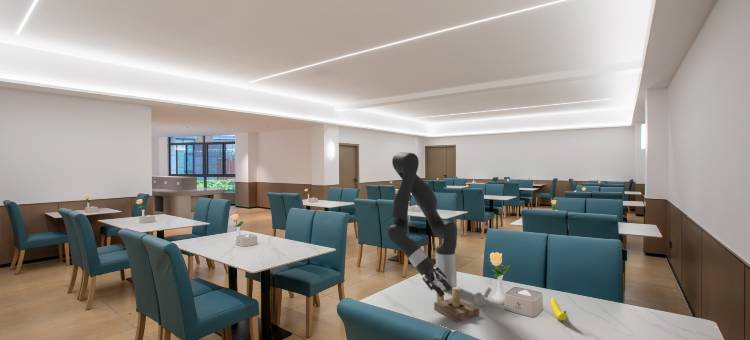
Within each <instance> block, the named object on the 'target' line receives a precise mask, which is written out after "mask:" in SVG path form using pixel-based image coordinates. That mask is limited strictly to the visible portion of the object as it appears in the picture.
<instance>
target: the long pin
mask: <svg viewBox="0 0 750 340" xmlns="http://www.w3.org/2000/svg"><path fill="white" fill-rule="evenodd" d="M451 291H452V293H451V294H452V295H451V296H452V297H451V298H452V307H453V308H455V309H457V308H460V299H461V288H460V287H454V288H452V290H451Z"/></svg>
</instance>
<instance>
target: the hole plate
mask: <svg viewBox="0 0 750 340" xmlns="http://www.w3.org/2000/svg"><path fill="white" fill-rule="evenodd" d="M433 310H434V311H436V312H437V313H440V314H441V315H442V316H445V317H447V318H448V319H450V320H452V321H454V322H456V323H459V322H462V321H465V320H468V319H469V320H470V319H472V318H475V317H480V307H479V306H478V307H477V306H476V305H473V304H471V303H469V302H467V301H465V300H463V299H461V298H460V308H457V309H455V308H453V307H452V297H451V298H447V299H444V300H443V301H434V305H433Z"/></svg>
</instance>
